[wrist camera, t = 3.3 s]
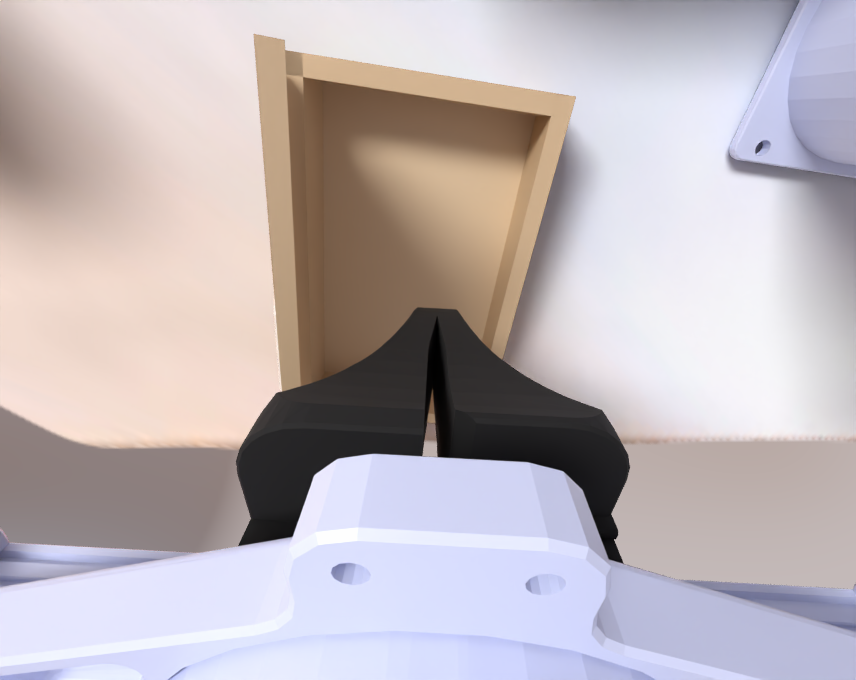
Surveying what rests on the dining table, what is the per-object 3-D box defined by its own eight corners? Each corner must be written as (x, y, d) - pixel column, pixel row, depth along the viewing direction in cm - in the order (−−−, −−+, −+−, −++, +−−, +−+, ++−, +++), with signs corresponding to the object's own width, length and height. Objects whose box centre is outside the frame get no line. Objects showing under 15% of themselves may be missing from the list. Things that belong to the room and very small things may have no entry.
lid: (284, 40, 5) (245, 32, 5) (308, 560, 12) (292, 564, 12) (279, 64, 11) (260, 61, 11) (297, 404, 18) (286, 406, 18)
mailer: (553, 99, 14) (576, 96, 12) (478, 393, 21) (482, 429, 19) (309, 60, 14) (281, 49, 11) (316, 373, 21) (300, 407, 19)
